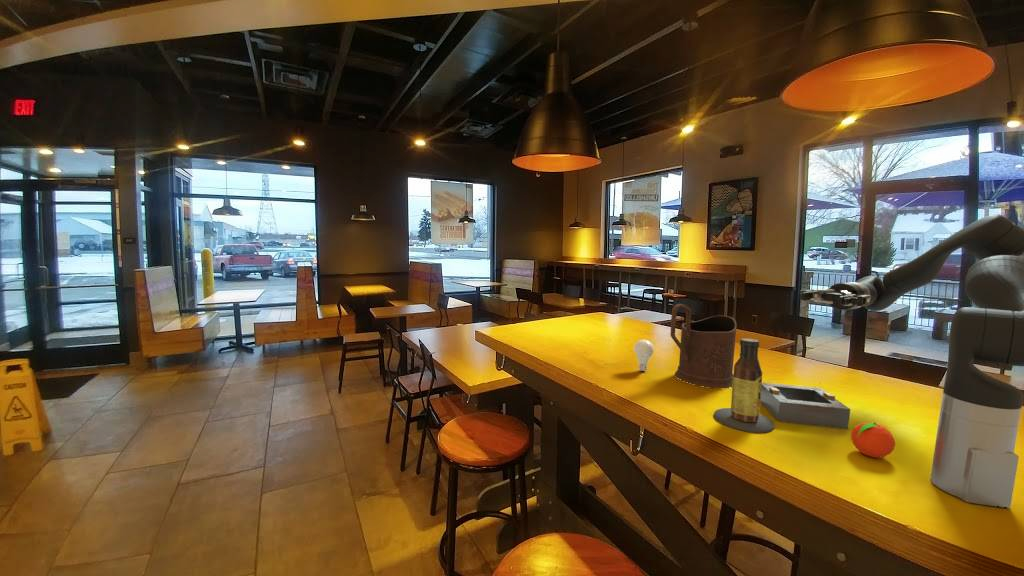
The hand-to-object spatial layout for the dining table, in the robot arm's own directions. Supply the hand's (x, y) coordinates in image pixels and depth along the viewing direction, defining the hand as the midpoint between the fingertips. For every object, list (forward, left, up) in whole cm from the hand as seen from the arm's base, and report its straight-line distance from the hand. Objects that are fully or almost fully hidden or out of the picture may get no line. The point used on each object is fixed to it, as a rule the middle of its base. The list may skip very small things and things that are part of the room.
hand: (820, 298), depth 107 cm
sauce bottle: (-13, +19, -30) cm, 38 cm away
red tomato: (-25, -1, -30) cm, 39 cm away
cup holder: (+17, +25, -30) cm, 43 cm away
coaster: (-14, +20, -30) cm, 38 cm away
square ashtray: (-4, +4, -30) cm, 30 cm away
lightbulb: (+20, +42, -30) cm, 55 cm away
